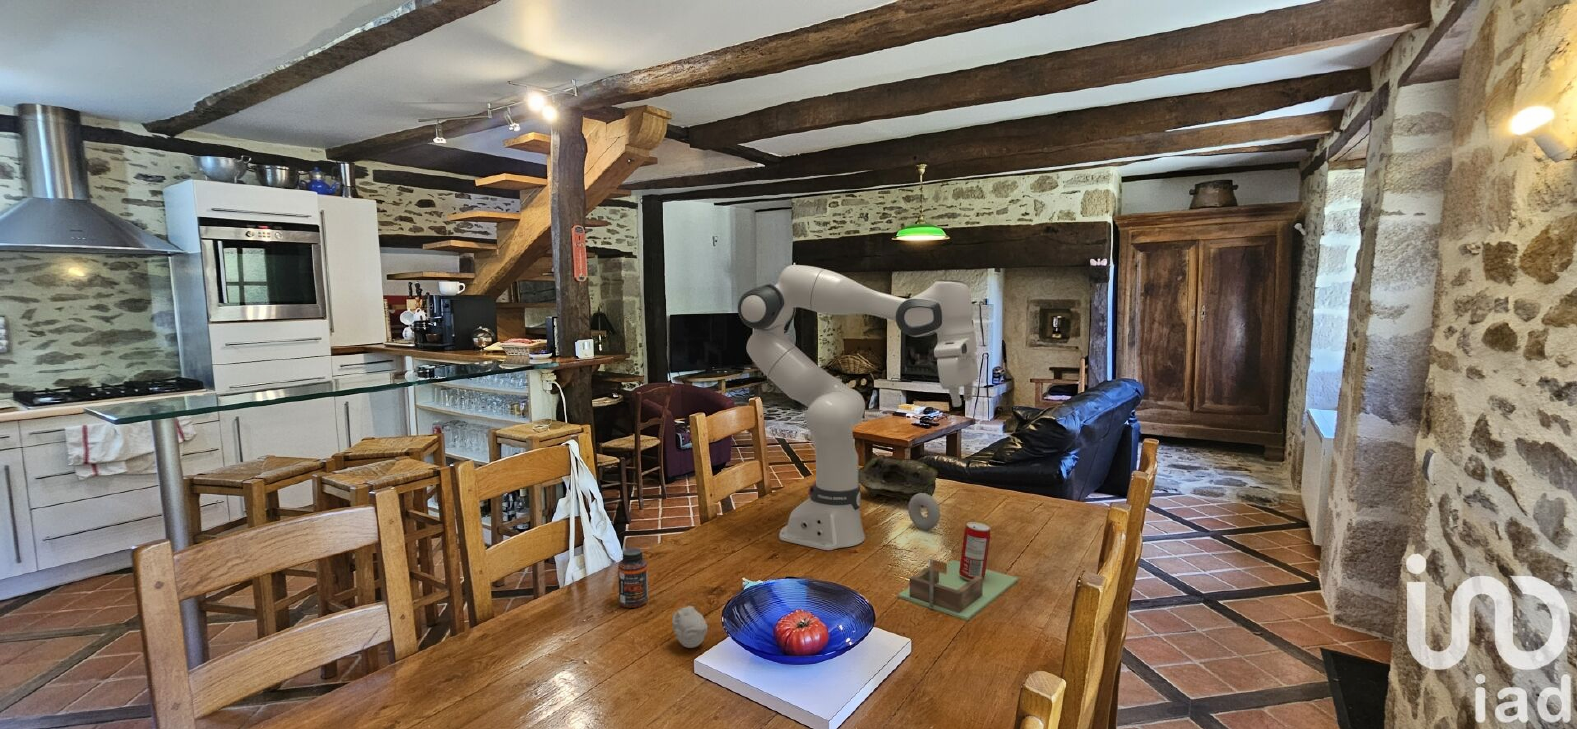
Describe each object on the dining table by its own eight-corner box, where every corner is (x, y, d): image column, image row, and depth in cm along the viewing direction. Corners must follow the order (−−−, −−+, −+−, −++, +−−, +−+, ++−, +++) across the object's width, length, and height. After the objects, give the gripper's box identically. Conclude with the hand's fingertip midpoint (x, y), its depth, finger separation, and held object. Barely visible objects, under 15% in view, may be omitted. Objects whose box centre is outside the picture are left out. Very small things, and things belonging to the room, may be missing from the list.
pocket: (934, 580, 149) (934, 537, 148) (982, 595, 141) (983, 549, 140) (906, 598, 140) (906, 552, 139) (956, 615, 133) (956, 566, 132)
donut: (942, 532, 180) (943, 496, 179) (934, 535, 178) (935, 499, 177) (913, 523, 188) (913, 488, 187) (905, 526, 185) (905, 490, 184)
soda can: (975, 571, 153) (981, 520, 152) (989, 581, 148) (996, 529, 147) (954, 572, 152) (960, 520, 150) (967, 582, 146) (974, 529, 145)
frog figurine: (690, 633, 129) (688, 598, 128) (715, 645, 124) (714, 608, 124) (665, 646, 124) (664, 610, 123) (691, 659, 120) (690, 621, 119)
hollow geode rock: (936, 526, 198) (959, 483, 204) (917, 504, 191) (941, 460, 197) (867, 501, 220) (889, 464, 225) (847, 480, 213) (871, 442, 218)
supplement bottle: (623, 612, 138) (620, 558, 137) (616, 600, 143) (614, 548, 142) (651, 605, 140) (649, 553, 139) (644, 594, 146) (642, 543, 145)
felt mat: (952, 562, 160) (952, 559, 160) (1018, 580, 150) (1018, 578, 150) (897, 597, 143) (897, 594, 142) (967, 620, 132) (967, 617, 132)
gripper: (956, 344, 172) (962, 397, 173) (931, 350, 155) (937, 410, 156) (981, 342, 169) (986, 396, 170) (958, 348, 152) (964, 409, 152)
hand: (963, 403), depth 163 cm, fingers open, 8 cm apart
